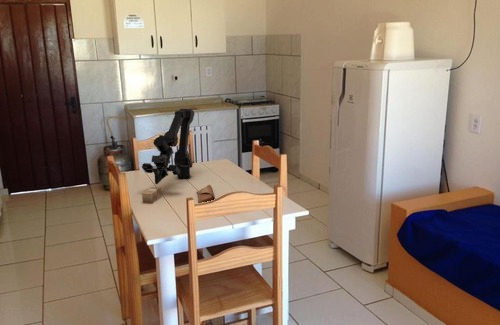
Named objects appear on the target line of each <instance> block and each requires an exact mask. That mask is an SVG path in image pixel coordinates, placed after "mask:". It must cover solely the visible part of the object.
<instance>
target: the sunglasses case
mask: <svg viewBox="0 0 500 325" xmlns="http://www.w3.org/2000/svg"><path fill="white" fill-rule="evenodd" d="M196 194H197V203H198V204H202V202H207V201H211V200H214V199H215V200H216V198H215V193H214V190H213V187H212V186H211V184H207V185H206V186H205V187H203V188H201V189H198V190H197V191H196Z"/></svg>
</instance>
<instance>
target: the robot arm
mask: <svg viewBox="0 0 500 325" xmlns="http://www.w3.org/2000/svg"><path fill="white" fill-rule="evenodd" d="M194 117H195V111H194V110H193V108H180V109H179V110H175V111H174V116H173V118H172V121H171V124H170V126H169V129H168V131H166V132H165V133H164V134H163V135H162V134H159V135H158V136H157V137H156V138H154V140H153V145H154V147H155V148H156V150H158V152H159V154H158V155H151V161H150V162H151V163H153V165H152V164H151V163H148V162H143V163H142V165H141V169H142V170H143V171H144V173H147V174H152V173H153V174H154V184H155V185H158V184H159V183H160V182H161V181H162V180H163V179H164V178H166V177H167V176H169V172H172V174H173V175H174V176H175V175H176V176H177V179H179V180H182V179H183V180H185V179H187V180H188V179H191V168H193V161H192V159H191V155H190V153H189V151H188V146H189V136H190V125H191V124H192V122H193V121H194ZM178 134H179V136H178ZM177 145H178V149H177V150H176V151H175V152H174V149H173V147H177ZM173 154H174V158H173V163H174V164H171V157H172V155H173Z"/></svg>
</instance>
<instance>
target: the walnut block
mask: <svg viewBox="0 0 500 325" xmlns="http://www.w3.org/2000/svg"><path fill="white" fill-rule="evenodd" d="M162 196H163V195H162V187H158V186H157V187H156V186H151V187H149V188H148V189H147V190H145V191H143V192H142V193H141V198H142V203H143V204H151V205H152V204H154V203H155V202H157V201H158V200H160V199H161V198H162Z"/></svg>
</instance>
